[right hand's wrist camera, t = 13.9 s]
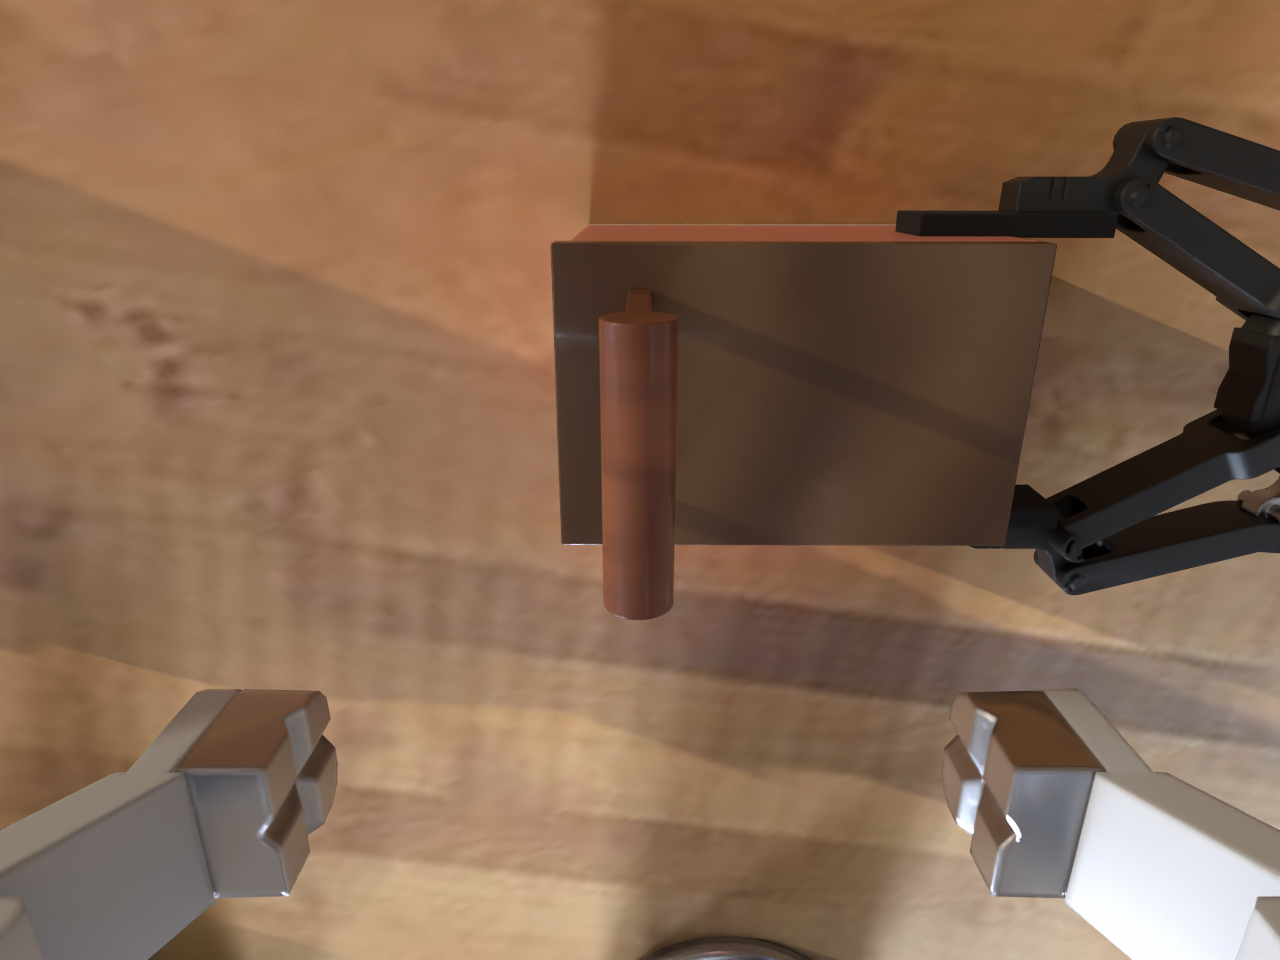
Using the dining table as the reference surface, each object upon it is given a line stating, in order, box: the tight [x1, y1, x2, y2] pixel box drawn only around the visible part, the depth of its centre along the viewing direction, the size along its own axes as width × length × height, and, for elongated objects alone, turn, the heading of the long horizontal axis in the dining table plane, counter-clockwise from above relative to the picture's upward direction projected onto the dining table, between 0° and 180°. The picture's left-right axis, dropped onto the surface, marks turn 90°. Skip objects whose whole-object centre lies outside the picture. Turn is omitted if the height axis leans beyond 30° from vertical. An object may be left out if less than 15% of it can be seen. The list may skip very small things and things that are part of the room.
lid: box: [551, 241, 1057, 620], centre depth 23 cm, size 15×10×8 cm, turn 90°
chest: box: [571, 224, 1041, 242], centre depth 31 cm, size 15×10×10 cm
